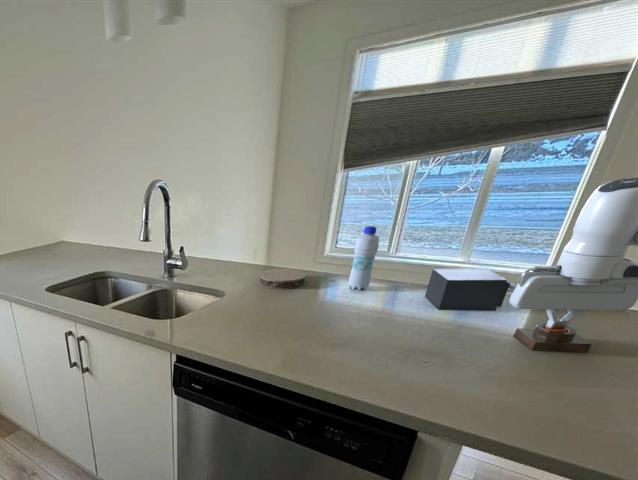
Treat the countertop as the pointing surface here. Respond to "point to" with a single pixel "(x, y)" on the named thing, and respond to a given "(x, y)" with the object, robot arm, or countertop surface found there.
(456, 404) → the countertop surface
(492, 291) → the dark navy box
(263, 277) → the round wood slice
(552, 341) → the control pad
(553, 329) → the button
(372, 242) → the bottle
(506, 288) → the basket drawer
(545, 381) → the countertop surface
